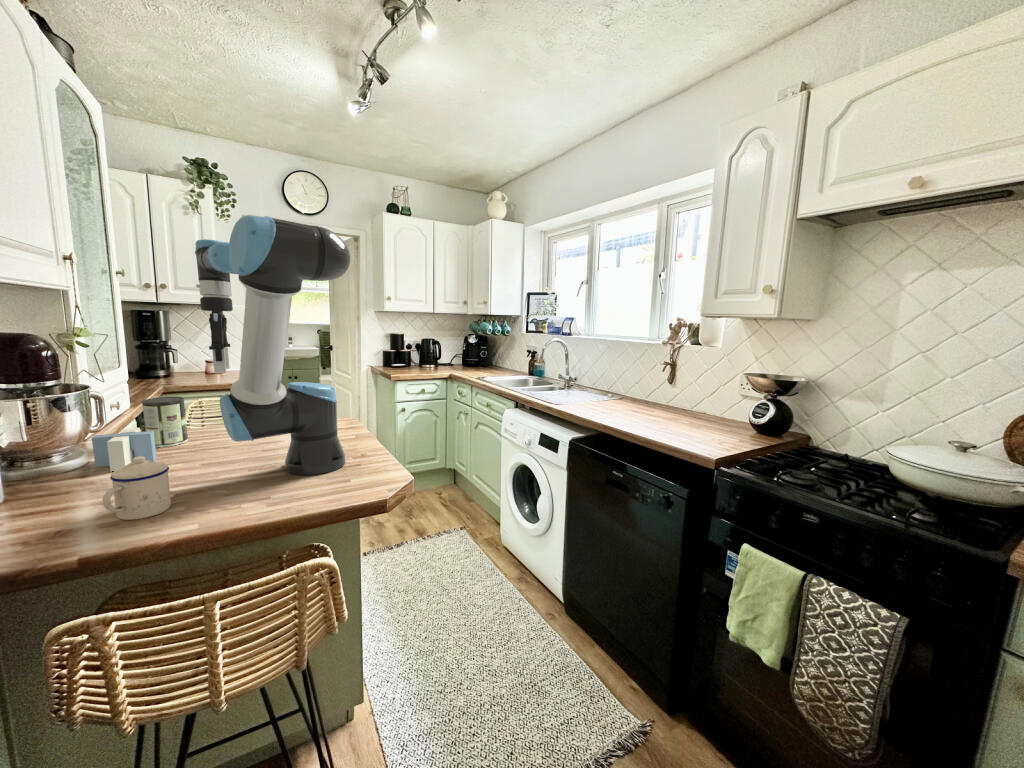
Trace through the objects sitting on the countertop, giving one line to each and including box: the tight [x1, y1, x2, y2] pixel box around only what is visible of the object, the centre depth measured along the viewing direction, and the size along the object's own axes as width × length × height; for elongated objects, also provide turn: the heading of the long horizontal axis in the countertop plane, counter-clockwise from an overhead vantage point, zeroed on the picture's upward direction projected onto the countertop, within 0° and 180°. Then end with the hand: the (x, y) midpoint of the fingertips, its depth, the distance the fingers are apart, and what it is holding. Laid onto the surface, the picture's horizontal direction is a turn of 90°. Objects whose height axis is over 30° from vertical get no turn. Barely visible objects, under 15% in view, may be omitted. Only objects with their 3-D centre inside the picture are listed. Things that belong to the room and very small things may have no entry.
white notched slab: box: [107, 427, 141, 473], centre depth 115 cm, size 14×3×8 cm, turn 27°
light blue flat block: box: [91, 430, 157, 468], centre depth 115 cm, size 3×12×8 cm, turn 117°
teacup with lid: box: [102, 456, 172, 521], centre depth 86 cm, size 12×9×12 cm
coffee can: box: [141, 396, 189, 449], centre depth 132 cm, size 10×10×14 cm
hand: (222, 370), depth 123 cm, fingers open, 13 cm apart
